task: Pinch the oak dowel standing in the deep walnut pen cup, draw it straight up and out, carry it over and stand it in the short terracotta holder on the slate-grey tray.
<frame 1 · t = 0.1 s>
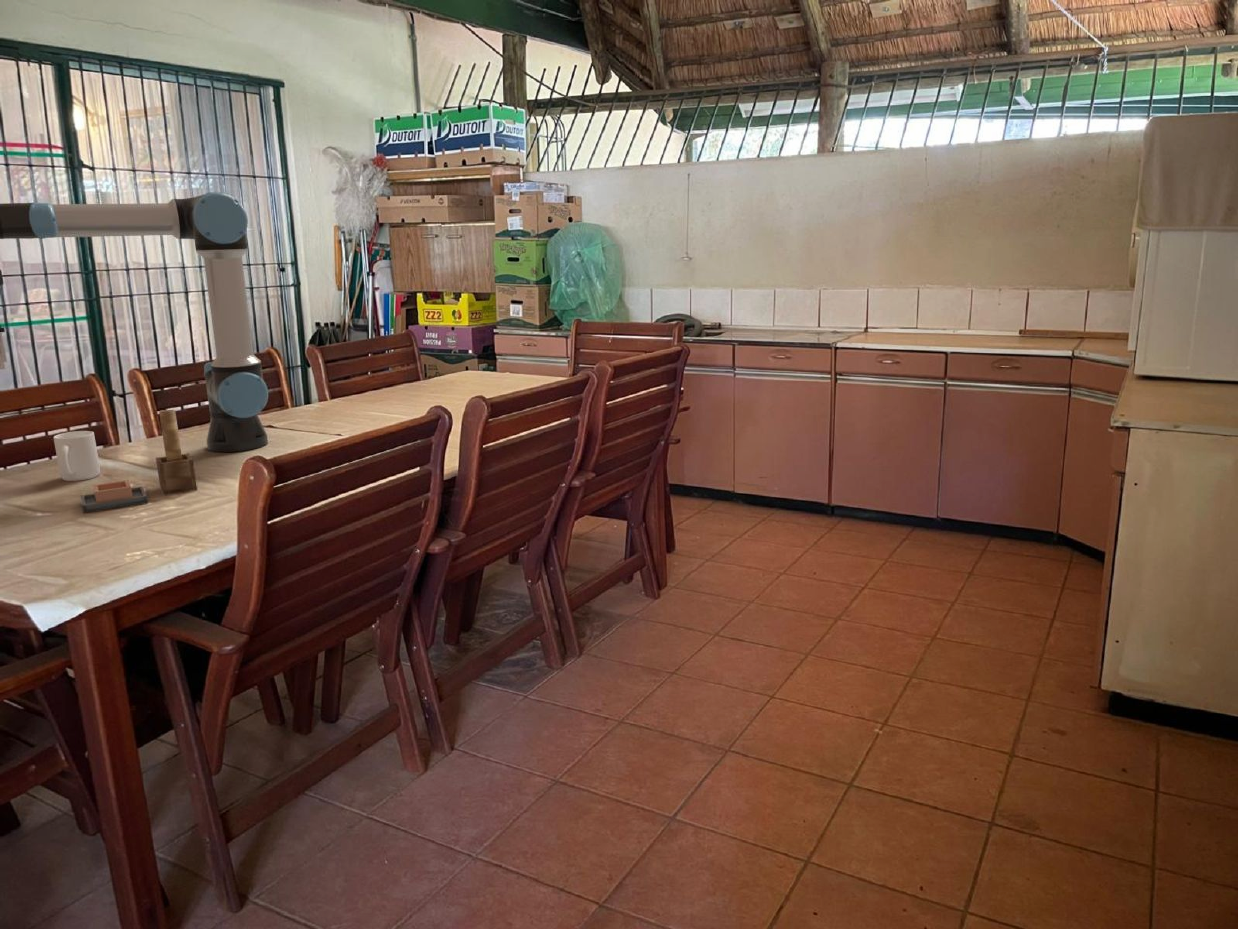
mug: (77, 479, 218), on the table
tray: (114, 503, 198), on the table
pen cup: (178, 488, 207), on the table
holder: (114, 499, 197), resting on tray
dowel: (178, 485, 207), point 1 cm above the table, touching pen cup
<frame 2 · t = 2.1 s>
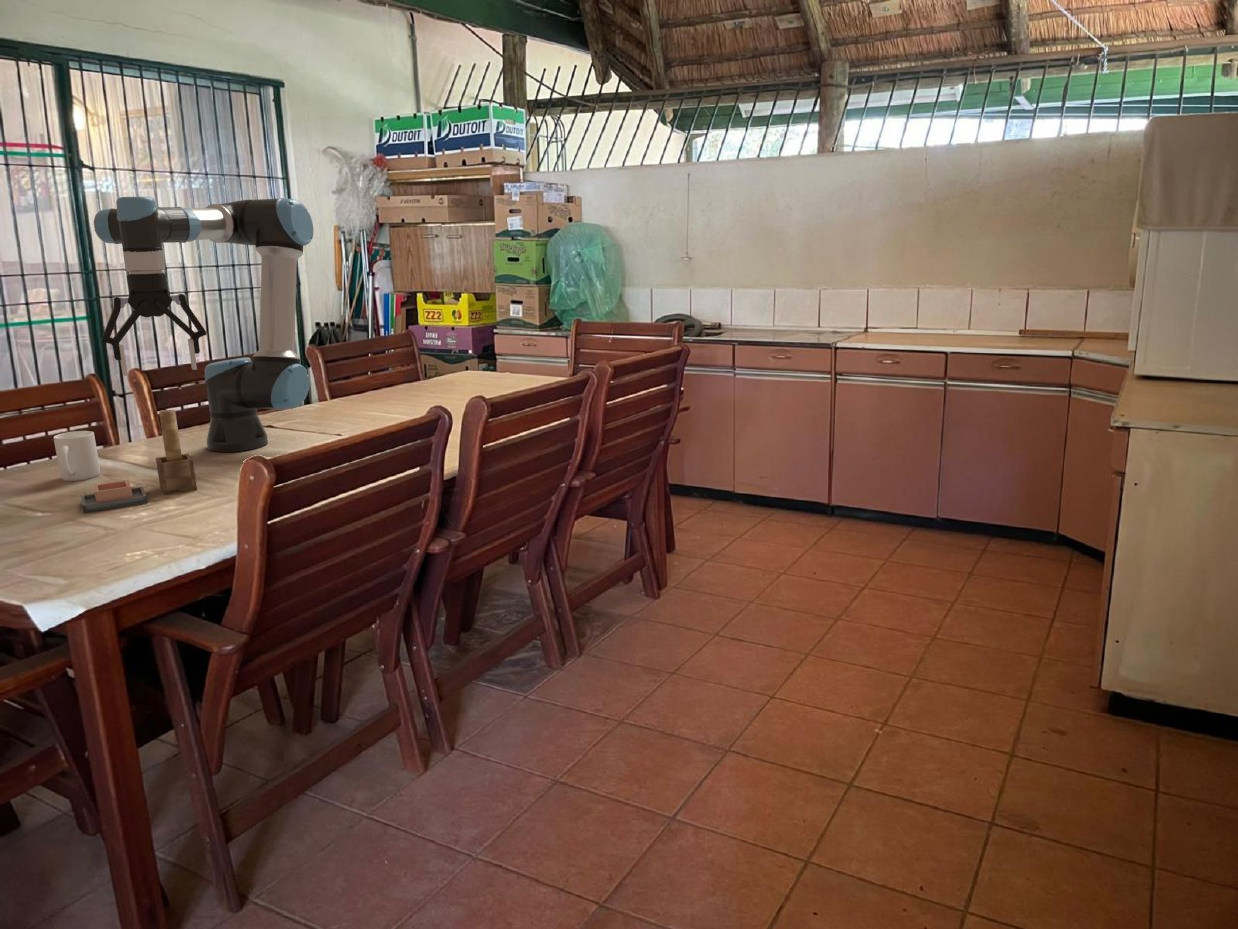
hand: (160, 372, 201), 26 cm above the table, fingers open, 13 cm apart
nothing on the table moved.
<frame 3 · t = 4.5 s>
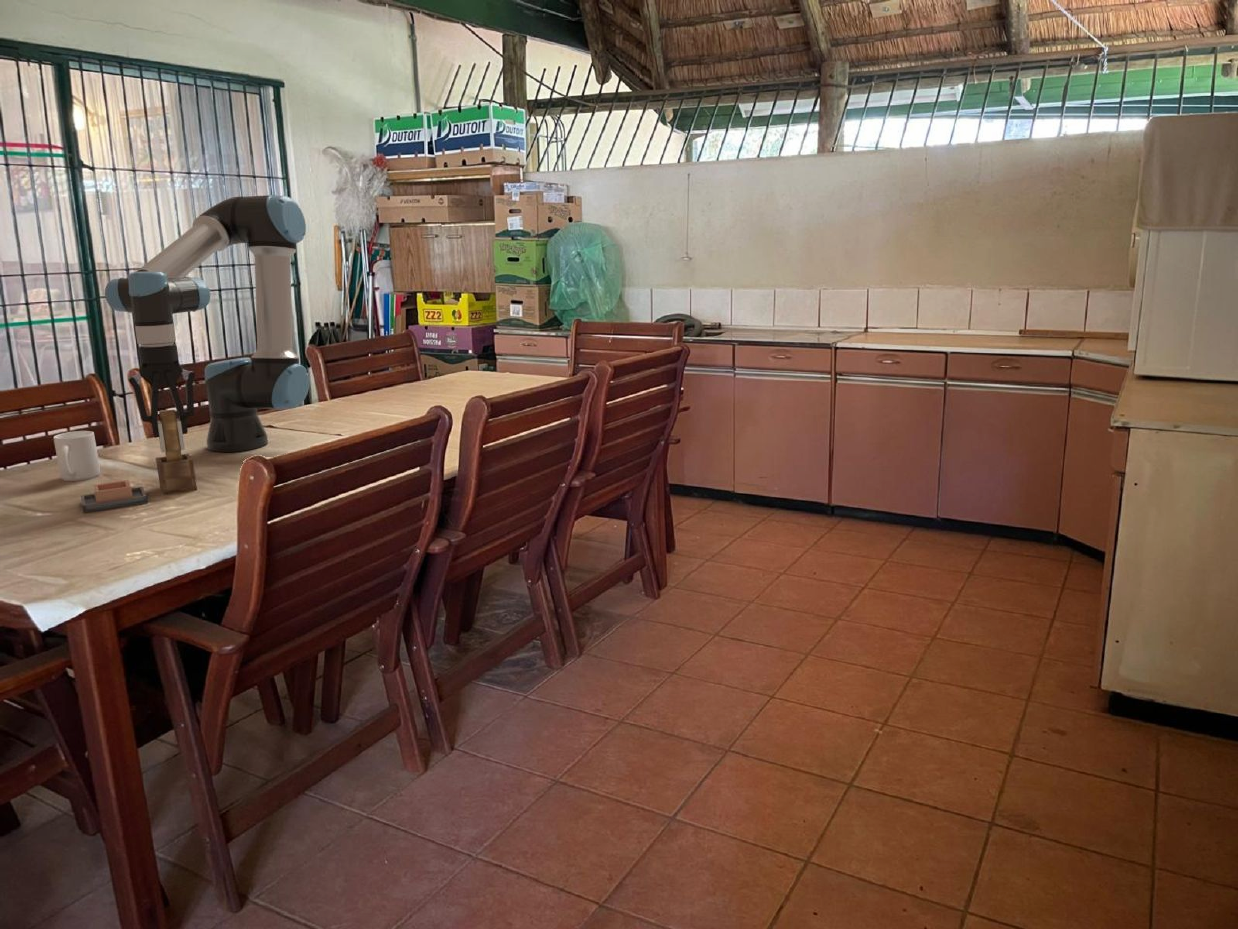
hand: (172, 449, 205), 9 cm above the table, fingers closed on dowel, 3 cm apart
dowel: (178, 485, 207), point 1 cm above the table, touching gripper, pen cup
everything else where it was.
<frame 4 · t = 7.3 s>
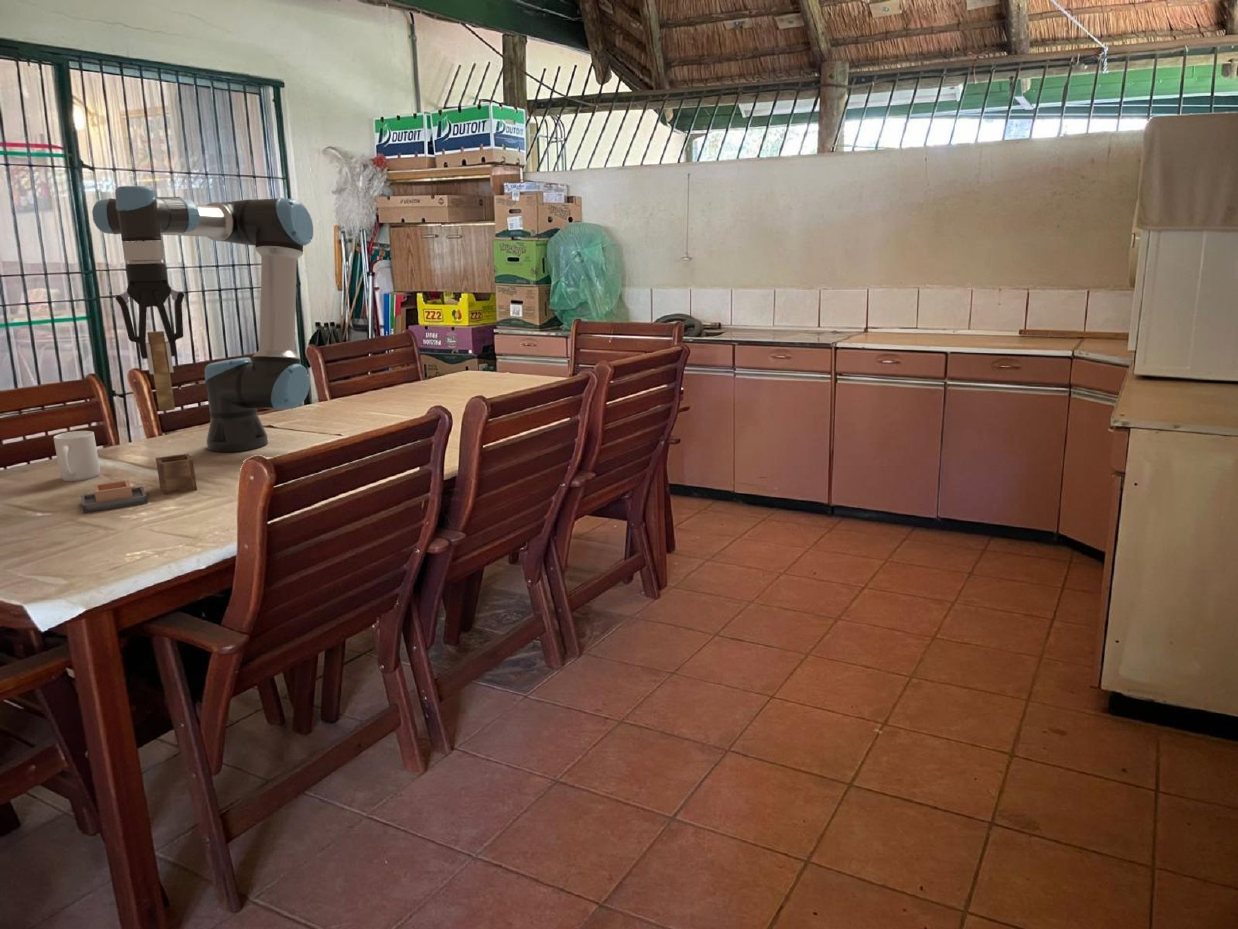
hand: (161, 372, 201), 26 cm above the table, fingers closed on dowel, 3 cm apart
dowel: (167, 409, 203), point 18 cm above the table, touching gripper
everything else where it was.
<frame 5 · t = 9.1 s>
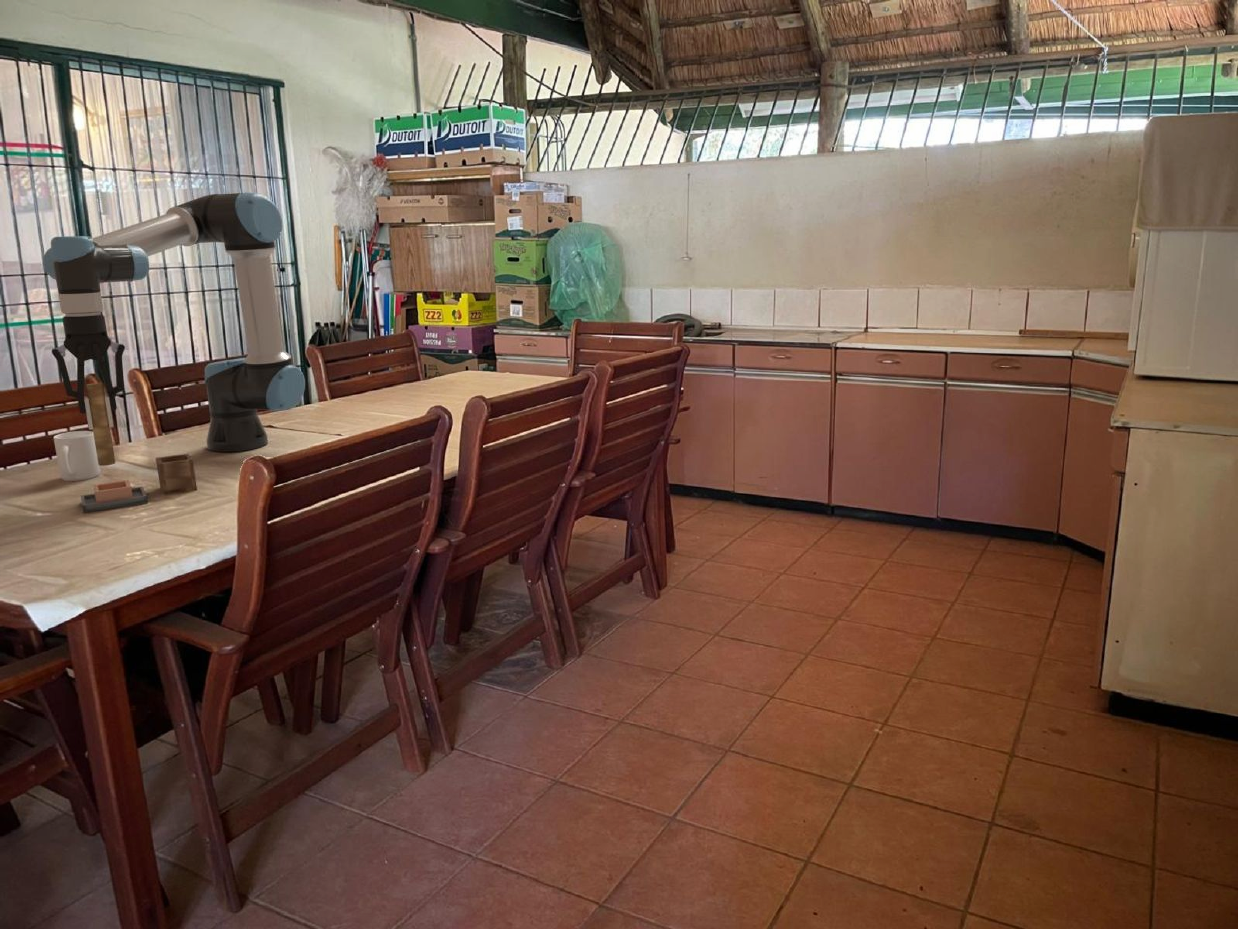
hand: (101, 427, 193), 17 cm above the table, fingers closed on dowel, 3 cm apart
dowel: (107, 463, 195), point 9 cm above the table, touching gripper
everything else where it was.
when the fingers open (11 cm above the table, at t = 10.4 s): dowel drops 2 cm, resting on holder.
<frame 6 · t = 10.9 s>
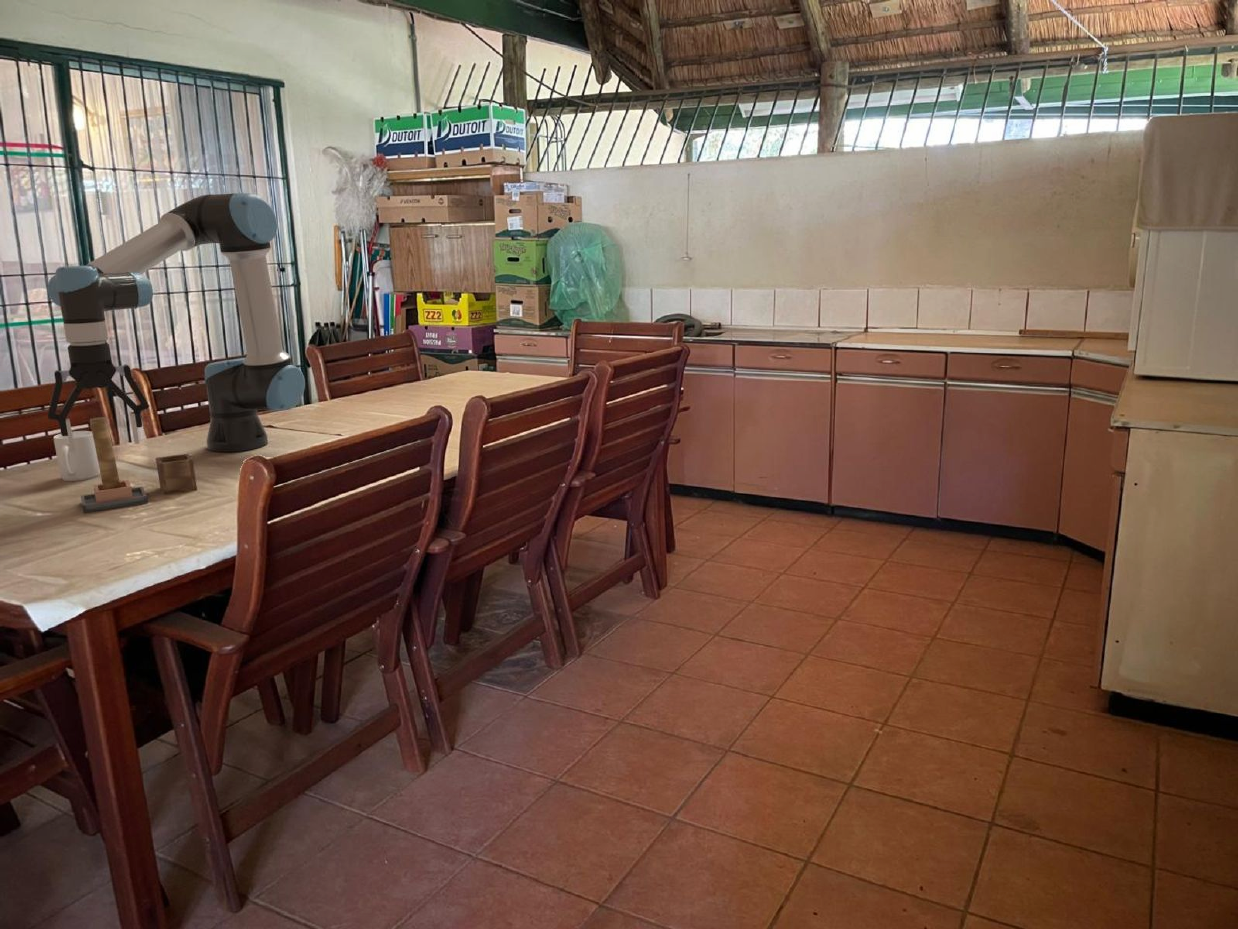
hand: (105, 446, 195), 12 cm above the table, fingers open, 11 cm apart
dowel: (113, 496, 197), point 1 cm above the table, touching holder
everything else where it was.
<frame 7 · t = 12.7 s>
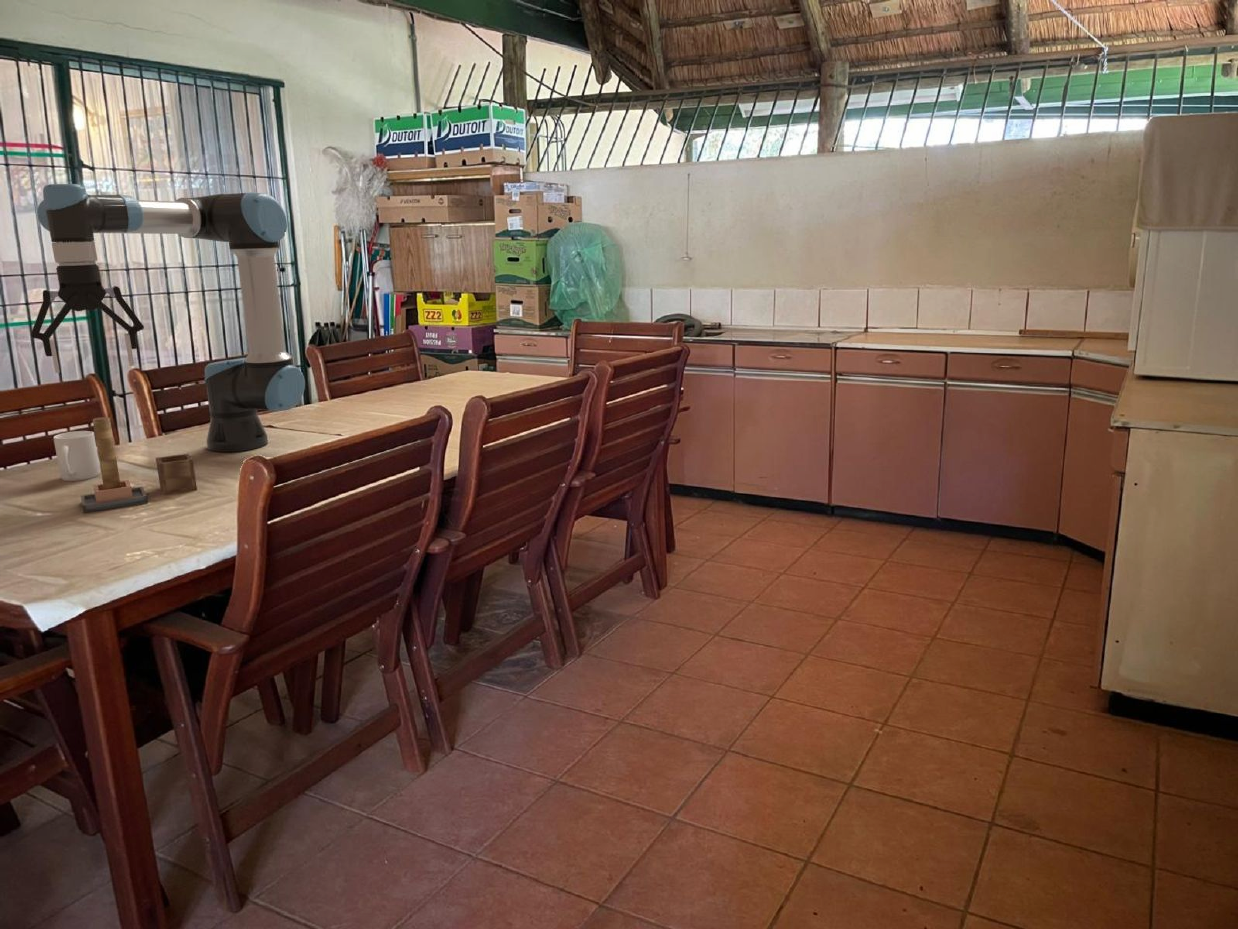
hand: (95, 368, 192), 29 cm above the table, fingers open, 13 cm apart
nothing on the table moved.
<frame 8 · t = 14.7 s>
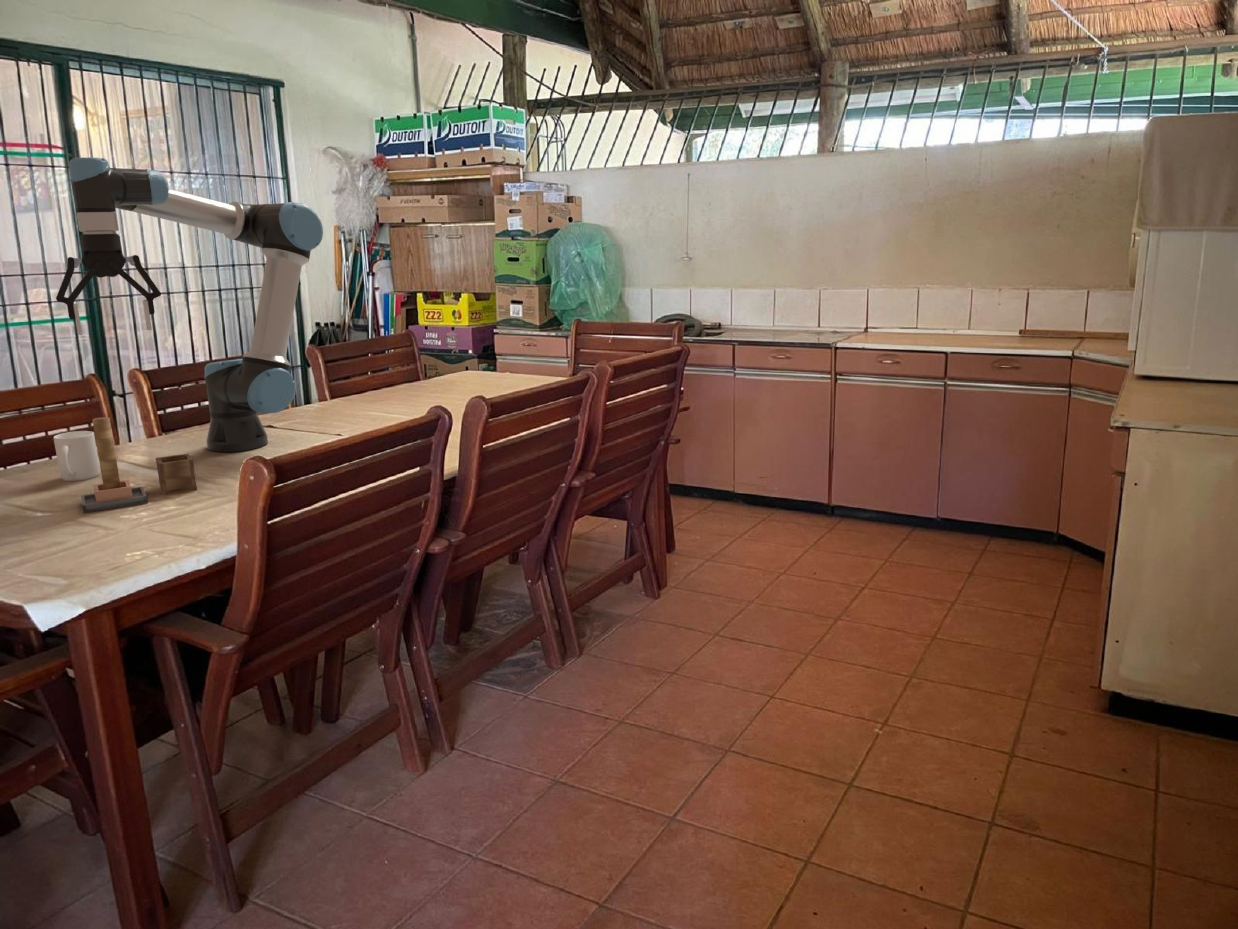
hand: (115, 332, 204), 35 cm above the table, fingers open, 13 cm apart
nothing on the table moved.
at the end: dowel 0.0 cm off-centre on the holder, point 0.6 cm above the holder's base; dowel tilted 0°; the gripper is holding nothing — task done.
